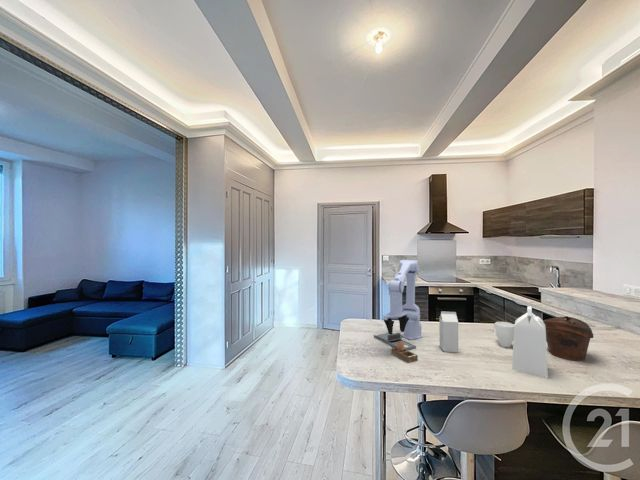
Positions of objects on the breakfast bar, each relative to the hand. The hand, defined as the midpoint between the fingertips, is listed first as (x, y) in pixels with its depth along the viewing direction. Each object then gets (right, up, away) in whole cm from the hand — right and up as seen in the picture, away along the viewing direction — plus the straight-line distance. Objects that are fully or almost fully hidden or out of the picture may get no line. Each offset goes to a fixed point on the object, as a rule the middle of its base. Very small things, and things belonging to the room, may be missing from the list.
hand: (396, 332), depth 131 cm
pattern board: (+2, -10, +13) cm, 17 cm away
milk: (+53, -10, -16) cm, 56 cm away
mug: (+59, -10, +10) cm, 61 cm away
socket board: (+2, -10, -5) cm, 11 cm away
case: (+81, -10, -3) cm, 81 cm away
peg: (+1, -10, -3) cm, 10 cm away
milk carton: (+27, -10, +4) cm, 29 cm away
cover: (+1, -8, +17) cm, 19 cm away
